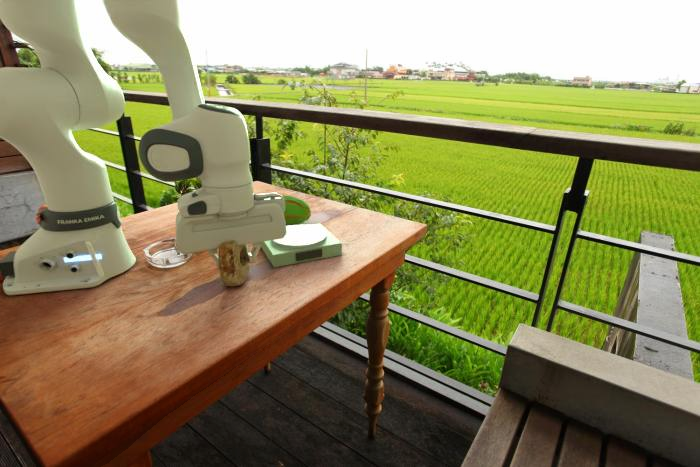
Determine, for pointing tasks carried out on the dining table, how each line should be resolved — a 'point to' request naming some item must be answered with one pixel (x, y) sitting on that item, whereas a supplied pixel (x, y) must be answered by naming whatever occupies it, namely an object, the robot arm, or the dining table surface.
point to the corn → (295, 210)
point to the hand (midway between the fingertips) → (236, 264)
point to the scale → (302, 245)
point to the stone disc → (233, 263)
